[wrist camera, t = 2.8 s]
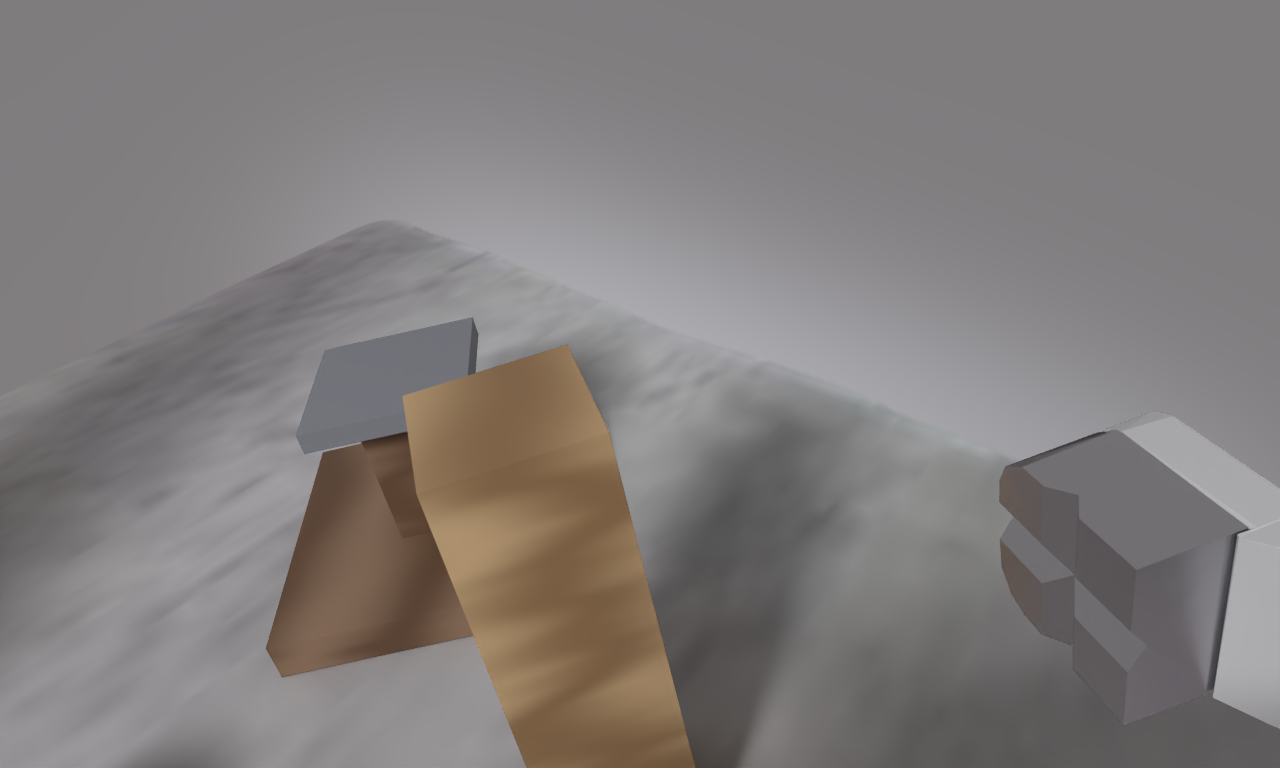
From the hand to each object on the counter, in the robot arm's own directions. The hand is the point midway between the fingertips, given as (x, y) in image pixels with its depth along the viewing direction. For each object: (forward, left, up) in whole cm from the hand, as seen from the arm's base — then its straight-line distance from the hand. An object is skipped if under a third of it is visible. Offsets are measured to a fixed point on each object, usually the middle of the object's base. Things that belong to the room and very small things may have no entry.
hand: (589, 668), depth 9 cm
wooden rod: (-2, +12, -19) cm, 22 cm away
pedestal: (-8, +26, -19) cm, 33 cm away
